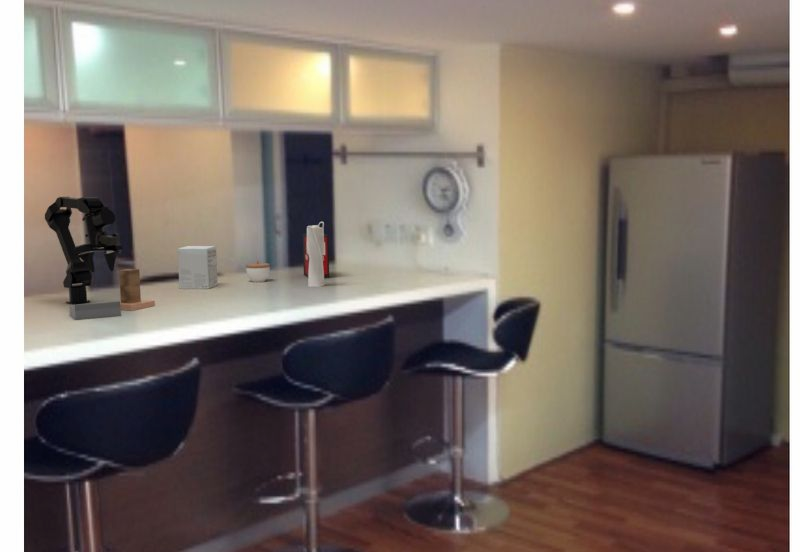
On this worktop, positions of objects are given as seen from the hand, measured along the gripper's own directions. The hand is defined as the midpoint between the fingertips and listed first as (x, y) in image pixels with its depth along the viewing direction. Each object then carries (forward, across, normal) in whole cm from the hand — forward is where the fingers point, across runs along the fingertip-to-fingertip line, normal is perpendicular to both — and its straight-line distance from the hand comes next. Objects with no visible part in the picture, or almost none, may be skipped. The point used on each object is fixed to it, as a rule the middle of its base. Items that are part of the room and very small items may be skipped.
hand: (102, 271), depth 307 cm
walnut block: (+13, +5, -6) cm, 15 cm away
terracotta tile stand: (+15, +5, -6) cm, 17 cm away
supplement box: (+9, +59, +6) cm, 60 cm away
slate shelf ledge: (+16, -13, -6) cm, 22 cm away
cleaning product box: (+12, +109, -23) cm, 112 cm away
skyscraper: (+18, +80, -40) cm, 92 cm away
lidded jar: (+10, +84, -7) cm, 85 cm away
